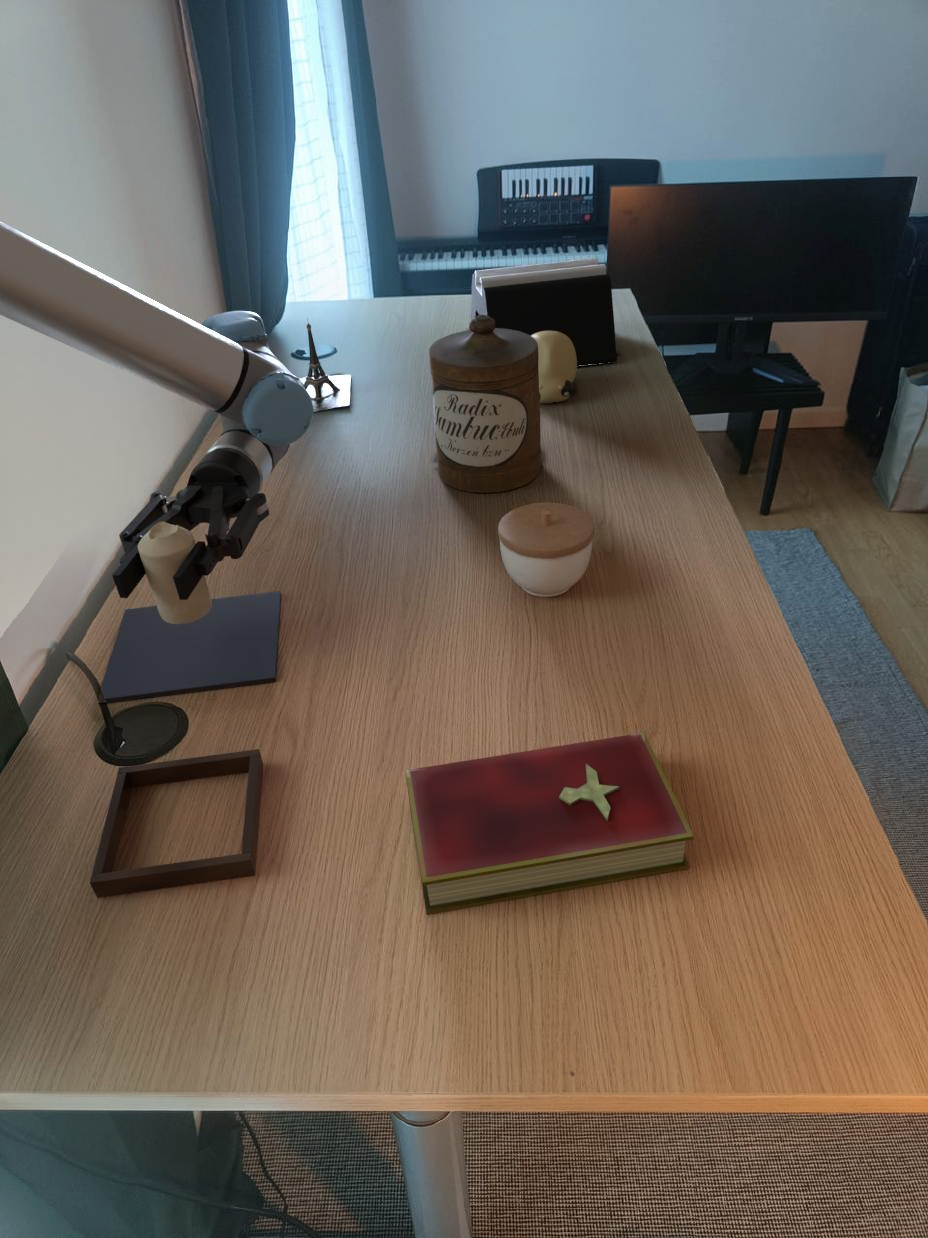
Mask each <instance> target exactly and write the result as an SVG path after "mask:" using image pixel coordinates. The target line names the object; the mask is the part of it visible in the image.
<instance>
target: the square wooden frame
mask: <svg viewBox="0 0 928 1238" xmlns="http://www.w3.org/2000/svg"><path fill="white" fill-rule="evenodd" d="M242 773H243V774H244V773H248V774H247V785H246V796H245V806H244V807H245V809H244V819H243V830H242V840H241V852H240V853H235V854H229V855H221V856H215V857H206V858H200V859H193V860H187V861H185V860H184V861H180V862H179V861H178V862H171V863H165V864H157V865H151V866H150V865H149V866H144V867H137V868H136V867H135V868H129V869H123V870H122V869H121V870H116V871H114V868H115V862H116V859H117V854H118V850H119V847H120V846H119V845H120V841H121V836H122V833H123V828H124V824H125V820H126V815H127V811H128V807H129V802H130V798H131V795H132V789H133V788H140V787H146V786H153V785H154V786H155V785H161V784H169V783H177V782H183V781H192V780H198V779H199V780H200V779H206V778H213V777H219V776H220V777H221V776H228V775H233V774H234V775H236V774H242ZM263 773H264V761H263V758H262V755H261V750H260V748H256V749H249V750H248V749H247V750H241V751H234V752H233V751H232V752H226V753H225V752H224V753H217V754H211V755H203V756H195V757H187V758H180V759H173V760H165V761H158V762H151V763H150V762H149V763H142V764H135V765H128V766H119V767H118V770H117V774H116V777H115V781H114V786H113V790H112V793H111V798H110V801H109V805H108V808H107V813H106V816H105V820H104V825H103V828H102V833H101V837H100V840H99V844H98V847H97V852H96V856H95V859H94V863H93V867H92V872H91V876H90V879H89V885H90V887H91V889H92V892H93V893H94V895H95V897H96V899H97V898H98V899H100V898H106V897H113V896H120V895H127V894H134V893H135V894H136V893H141V892H149V891H154V890H155V891H156V890H161V889H168V888H170V889H171V888H175V887H182V886H189V885H197V884H204V883H205V884H206V883H211V882H217V881H218V882H219V881H225V880H232V879H239V878H246V877H254V876H256V872H257V871H256V870H257V858H258V857H257V855H258V843H259V828H260V814H261V801H262V800H261V799H262V787H263Z"/></svg>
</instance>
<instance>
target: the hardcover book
mask: <svg viewBox="0 0 928 1238" xmlns="http://www.w3.org/2000/svg"><path fill="white" fill-rule="evenodd" d="M404 772H405V779H406V786H407V793H408V794H407V795H408V801H409V808H410V809H409V810H410V815H411V821H412V828H413V834H414V842H415V849H416V855H417V861H418V868H419V874H420V875H419V876H420V881H421V888H422V894H423V895H422V896H423V902H424V909H425V914H426V915H432V914H436V913H443V912H448V911H455V910H460V909H466V908H472V907H478V906H483V905H488V904H494V903H500V902H506V901H511V900H518V899H523V898H528V897H534V896H541V895H545V894H552V893H557V892H563V891H568V890H575V889H581V888H585V887H592V886H597V885H602V884H608V883H615V882H619V881H620V882H621V881H626V880H632V879H637V878H642V877H643V878H644V877H649V876H654V875H660V874H666V873H670V872H671V873H672V872H677V871H683V870H688V869H690V864H689V861H688V859H687V857H686V855H685V850H686V844H687V841H693V840H695V839H694V838H695V835H694V833H693V831H692V829H691V827H690V825H689V823H688V820H687V819H686V816H685V814H684V812H683V810H682V808H681V806H680V803H679V802H678V800H677V798H676V795H675V794H674V792H673V789H672V788H671V785H670V783H669V781H668V779H667V777H666V775H665V772H664V771H663V769H662V766H661V764H660V762H659V760H658V758H657V756H656V754H655V752H654V749H653V747H652V745H651V743H650V741H649V739H648V737H647V735H646V733H645V732H638V733H631V734H626V735H619V736H614V737H607V738H601V739H595V740H588V741H582V742H576V743H569V744H562V745H557V746H550V747H543V748H538V749H537V748H536V749H529V750H526V751H525V750H524V751H519V752H513V753H506V754H499V755H493V756H486V757H481V758H480V757H479V758H475V759H467V760H462V761H455V762H448V763H442V764H437V765H436V764H435V765H430V766H424V767H418V768H417V767H416V768H412V769H405V770H404Z"/></svg>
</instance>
